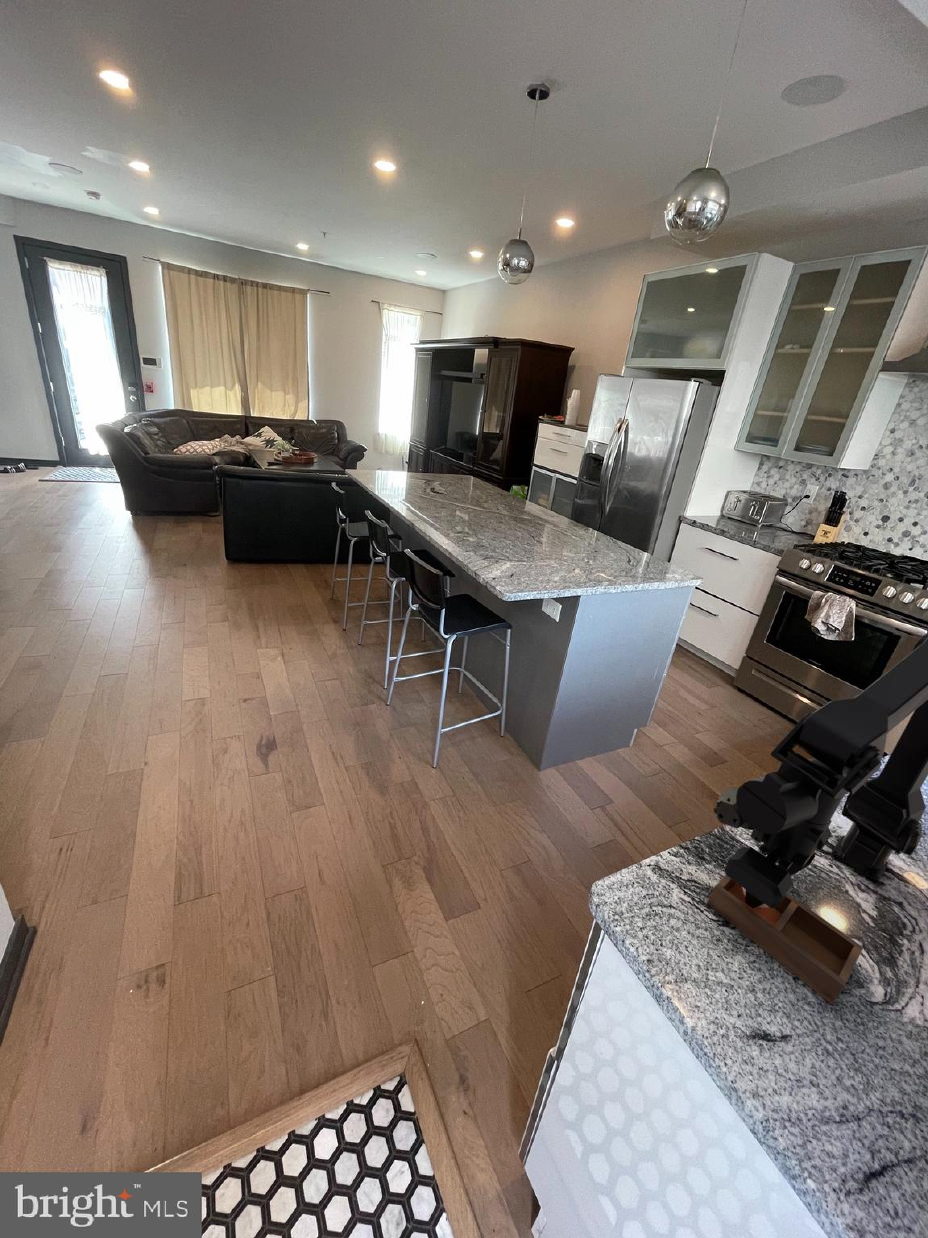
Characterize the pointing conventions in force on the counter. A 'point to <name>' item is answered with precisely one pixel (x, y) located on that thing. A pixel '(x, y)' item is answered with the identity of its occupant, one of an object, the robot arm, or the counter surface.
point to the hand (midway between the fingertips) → (756, 896)
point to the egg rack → (792, 938)
